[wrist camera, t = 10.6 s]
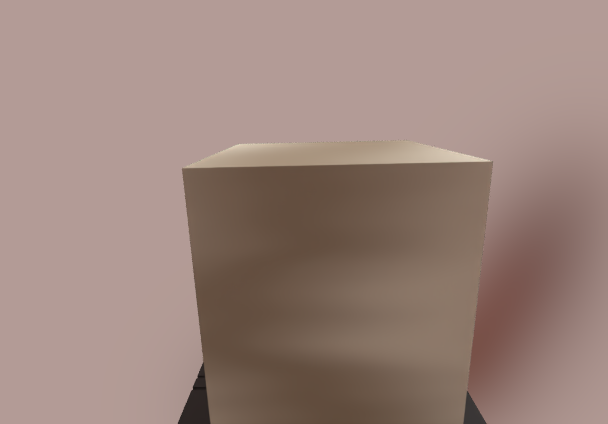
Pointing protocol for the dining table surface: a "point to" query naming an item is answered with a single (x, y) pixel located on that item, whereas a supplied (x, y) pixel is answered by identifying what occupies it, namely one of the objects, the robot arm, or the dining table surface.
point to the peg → (337, 280)
